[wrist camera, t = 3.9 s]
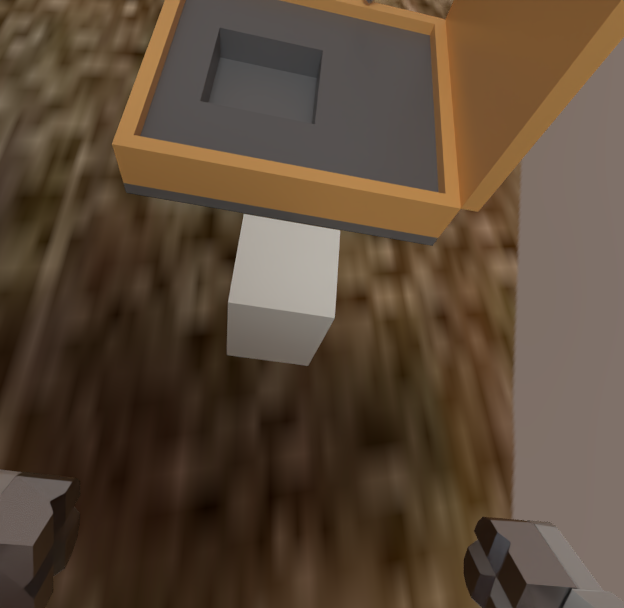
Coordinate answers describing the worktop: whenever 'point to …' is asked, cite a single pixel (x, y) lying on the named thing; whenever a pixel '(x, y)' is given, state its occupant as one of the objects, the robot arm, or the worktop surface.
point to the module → (282, 290)
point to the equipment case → (353, 105)
